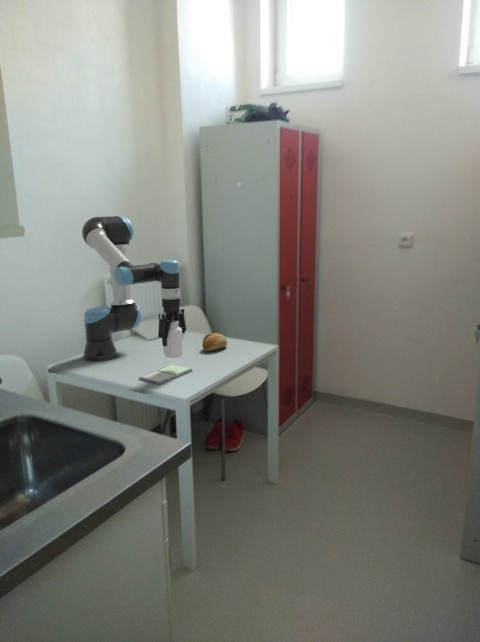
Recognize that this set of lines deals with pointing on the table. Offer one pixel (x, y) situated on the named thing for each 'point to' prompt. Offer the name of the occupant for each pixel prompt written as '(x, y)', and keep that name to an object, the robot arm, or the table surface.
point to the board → (165, 374)
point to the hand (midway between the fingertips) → (173, 350)
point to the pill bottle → (175, 340)
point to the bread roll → (214, 341)
